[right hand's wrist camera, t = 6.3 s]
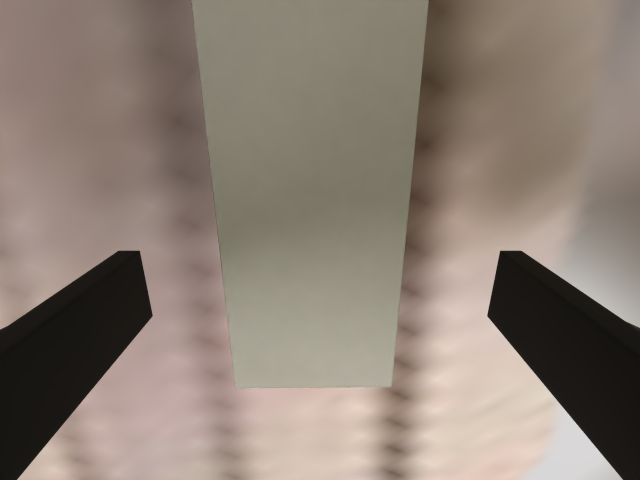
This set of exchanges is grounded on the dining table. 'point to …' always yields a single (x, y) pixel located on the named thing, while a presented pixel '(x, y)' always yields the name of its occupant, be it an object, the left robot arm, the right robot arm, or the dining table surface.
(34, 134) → the dining table surface
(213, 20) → the post
